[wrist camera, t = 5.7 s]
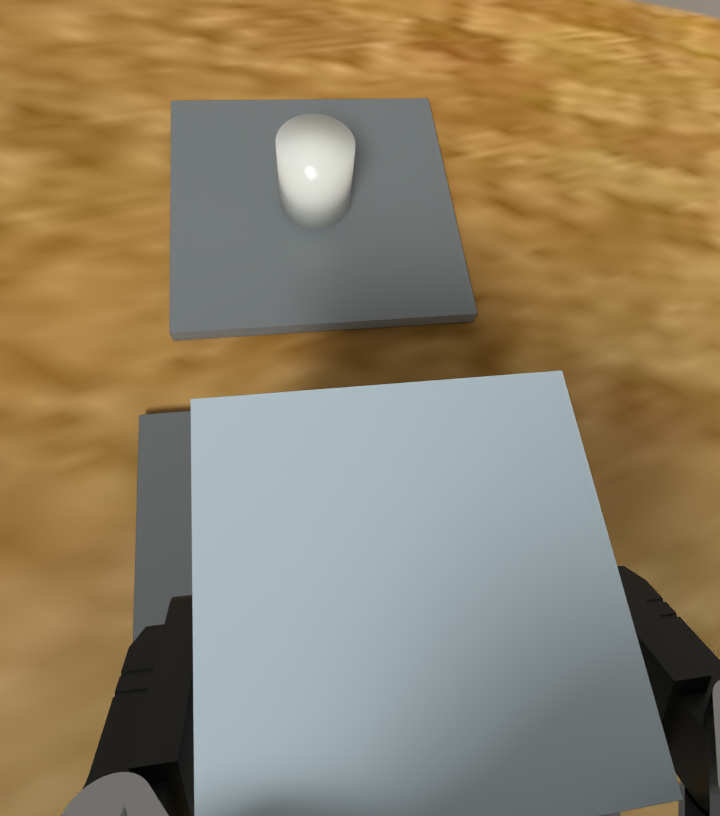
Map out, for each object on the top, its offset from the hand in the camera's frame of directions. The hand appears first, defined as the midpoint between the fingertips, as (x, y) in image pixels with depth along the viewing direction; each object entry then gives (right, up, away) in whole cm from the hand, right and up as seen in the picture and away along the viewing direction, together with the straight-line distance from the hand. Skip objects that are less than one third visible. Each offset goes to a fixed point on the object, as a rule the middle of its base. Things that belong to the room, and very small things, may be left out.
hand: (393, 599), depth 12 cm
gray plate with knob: (-3, +13, +11) cm, 17 cm away
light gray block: (-1, -2, +5) cm, 6 cm away
